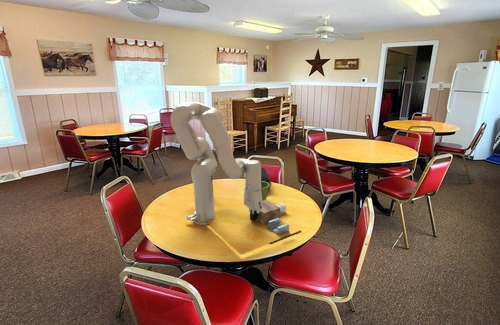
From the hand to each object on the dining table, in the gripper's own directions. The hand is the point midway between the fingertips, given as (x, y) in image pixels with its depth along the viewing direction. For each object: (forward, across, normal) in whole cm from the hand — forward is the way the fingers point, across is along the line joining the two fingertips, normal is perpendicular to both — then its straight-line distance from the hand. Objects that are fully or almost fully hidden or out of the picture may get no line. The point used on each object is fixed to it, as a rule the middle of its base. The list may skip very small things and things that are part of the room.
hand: (253, 219), depth 144 cm
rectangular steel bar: (+1, 0, +11) cm, 11 cm away
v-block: (+2, +14, +5) cm, 15 cm away
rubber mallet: (+2, -43, -3) cm, 43 cm away
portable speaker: (+3, -40, +34) cm, 53 cm away
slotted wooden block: (+2, 0, +7) cm, 7 cm away
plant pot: (+3, -19, +17) cm, 26 cm away
